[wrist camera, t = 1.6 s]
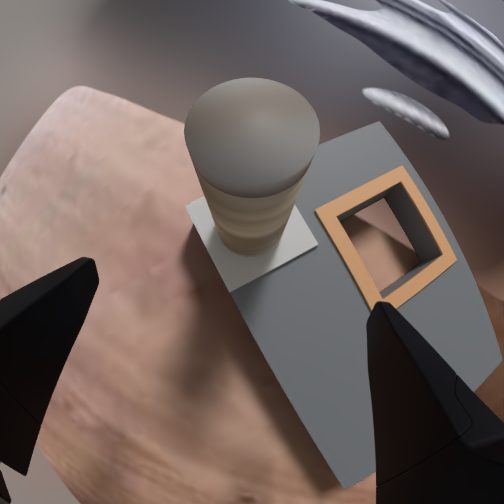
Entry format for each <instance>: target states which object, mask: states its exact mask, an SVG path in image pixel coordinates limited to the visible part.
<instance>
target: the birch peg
mask: <svg viewBox="0 0 504 504" xmlns="http://www.w3.org/2000/svg"><path fill="white" fill-rule="evenodd" d="M184 135H185V141H186V145H187V148H188V151H189V154H190V156H191V159H192V162H193V165H194V168H195V171H196V173H197V176H198V179H199V182H200V185H201V187H202V190H203V193H204V196H205V199H206V201H207V204H208V207H209V210H210V212H211V215H212V218H213V220H214V223H215V226H216V229H217V231H218V234H219V237H220V239H221V241H222V242H223V244H224V245H225V246H226V247H227V248H228V249H229V250H231V251H232V252H234V253H236V254H238V255H241V256H245V257H256V256H261V255H263V254H266V253H268V252H269V251H271V250H272V249H273V248H274V247H275V246H276V245H277V244H278V243H279V241H280V239H281V237H282V235H283V232H284V230H285V227H286V225H287V222H288V220H289V217H290V215H291V212H292V210H293V207H294V205H295V202H296V200H297V197H298V195H299V192H300V190H301V187H302V185H303V182H304V180H305V177H306V175H307V172H308V169H309V167H310V164H311V162H312V159H313V157H314V154H315V151H316V149H317V146H318V143H319V138H320V126H319V121H318V118H317V115H316V113H315V111H314V109H313V108H312V106H311V105H310V104H309V102H308V101H307V100H306V99H305V98H304V97H303V96H302V95H301V94H299V93H298V92H297V91H295V90H294V89H292V88H290V87H288V86H286V85H284V84H281V83H279V82H276V81H272V80H267V79H262V78H242V79H235V80H231V81H228V82H224V83H222V84H219V85H217V86H215V87H213V88H212V89H210V90H208V91H207V92H206V93H204V94H203V95H202V96H201V97H200V98H199V99H198V100H197V101H196V102H195V103H194V105H193V106H192V108H191V109H190V111H189V113H188V116H187V118H186V122H185V128H184Z"/></svg>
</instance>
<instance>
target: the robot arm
mask: <svg viewBox="0 0 504 504" xmlns="http://www.w3.org/2000/svg"><path fill="white" fill-rule="evenodd" d="M98 284H99V277H98V272H97V268H96V264H95V261H94V259H92V258H87V257H81V258H79V259H77V260H75V261H73V262H71V263H69V264H67V265H65V266H63V267H61V268H59V269H57V270H55V271H53V272H51V273H49V274H47V275H45V276H43V277H41V278H39V279H37V280H35V281H33V282H32V283H30V284H28V285H26V286H24V287H22V288H20V289H18V290H17V291H15V292H13V293H11V294H9V295H8V296H6V297H4V298H2V299H1V300H0V463H1V462H3V463H4V464H5V465H7V466H9V467H10V468H12V469H14V470H15V471H17V472H19V473H21V474H22V475H24V476H26V474H27V471H28V468H29V464H30V460H31V457H32V454H33V450H34V446H35V444H36V440H37V437H38V434H39V431H40V428H41V425H42V422H43V419H44V416H45V413H46V410H47V408H48V405H49V402H50V400H51V397H52V394H53V392H54V389H55V387H56V384H57V382H58V379H59V377H60V374H61V372H62V370H63V367H64V365H65V363H66V360H67V358H68V356H69V354H70V351H71V349H72V347H73V345H74V343H75V340H76V338H77V336H78V334H79V332H80V330H81V328H82V325H83V323H84V321H85V318H86V316H87V313H88V310H89V308H90V305H91V303H92V300H93V297H94V295H95V292H96V290H97V287H98ZM366 332H367V365H368V377H369V385H370V394H371V404H372V414H373V427H374V441H375V460H376V486H377V487H376V504H504V423H503V422H502V421H501V420H500V419H499V418H498V417H497V415H496V414H495V413H494V412H493V411H492V410H491V409H490V408H489V407H488V406H487V405H486V404H485V403H484V402H483V401H482V400H481V399H480V398H479V397H478V396H477V395H476V394H475V393H474V392H473V391H472V390H471V389H470V388H469V387H468V385H467V384H466V383H465V382H464V381H463V380H462V379H461V378H460V376H459V375H456V372H455V371H454V370H453V369H452V368H451V366H450V365H449V364H448V363H447V362H446V361H445V360H444V359H443V358H442V357H441V355H440V354H439V353H438V352H437V351H436V350H435V349H434V348H433V347H432V346H431V345H430V344H429V343H428V341H427V340H426V339H425V338H424V337H423V336H422V335H421V334H420V333H419V332H418V331H417V330H416V329H415V328H414V327H413V326H412V325H411V324H410V323H409V322H408V321H407V320H406V319H405V317H404V316H403V315H402V314H401V313H400V312H399V311H398V310H397V309H396V308H395V307H394V306H393V305H392V304H391V303H389V302H384V301H378V302H376V303H375V305H374V307H373V309H372V311H371V313H370V315H369V317H368V320H367V324H366ZM10 503H11V498H10V495H9V493H8V490H7V487H6V484H5V481H4V478H3V475H2V472H1V470H0V504H10Z"/></svg>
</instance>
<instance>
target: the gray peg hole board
mask: <svg viewBox="0 0 504 504" xmlns="http://www.w3.org/2000/svg"><path fill="white" fill-rule="evenodd" d="M382 198H384V199H385V200H386V202H387V203H388V205H389V207H390V208H391V210H392V212H393V213H394V215H395V217H396V218H397V220H398V221H399V223H400V225H401V227H402V228H403V230H404V232H405V234H406V235H407V237H408V239H409V241H410V242H411V244H412V246H413V248H414V250H415V252H416V254H417V256H418V258H419V259H420V261H421V263H420V264H418V265H417V266H416V267H414V268H413V269H412V270H410V271H409V272H407V273H406V274H405V275H403V276H402V277H401V278H399V279H398V280H396V281H395V282H393V283H392V284H391V285H389V286H388V287H386V288H385V289H383V290H382V291H380V292H379V291H378V289H377V287H376V285H375V283H374V282H373V280H372V278H371V276H370V274H369V272H368V270H367V269H366V267H365V265H364V263H363V261H362V260H361V258H360V256H359V254H358V253H357V251H356V249H355V247H354V246H353V244H352V242H351V240H350V239H349V237H348V235H347V234H346V232H345V230H344V229H343V227H342V225H341V224H340V221H342V220H344V219H346V218H348V217H350V216H351V215H353V214H355V213H357V212H359V211H360V210H362V209H364V208H366V207H368V206H370V205H371V204H373V203H375V202H377V201H379V200H380V199H382ZM185 207H186V209H187V211H188V213H189V215H190V217H191V219H192V221H193V223H194V225H195V227H196V229H197V231H198V233H199V235H200V237H201V239H202V241H203V243H204V245H205V247H206V249H207V251H208V253H209V254H210V256H211V258H212V260H213V262H214V264H215V266H216V268H217V270H218V272H219V274H220V276H221V278H222V280H223V281H224V283H225V285H226V287H227V289H228V291H229V293H230V294H231V296H232V298H233V300H234V302H235V304H236V306H237V308H238V309H239V311H240V313H241V315H242V317H243V319H244V321H245V322H246V324H247V326H248V328H249V330H250V332H251V333H252V335H253V337H254V339H255V341H256V342H257V344H258V346H259V348H260V350H261V351H262V353H263V355H264V357H265V359H266V360H267V362H268V364H269V366H270V367H271V369H272V371H273V373H274V374H275V376H276V378H277V380H278V381H279V383H280V385H281V387H282V388H283V390H284V392H285V394H286V395H287V397H288V399H289V400H290V402H291V404H292V405H293V407H294V409H295V411H296V412H297V414H298V416H299V417H300V419H301V421H302V422H303V424H304V426H305V427H306V429H307V431H308V432H309V434H310V436H311V437H312V439H313V441H314V442H315V444H316V445H317V447H318V449H319V450H320V452H321V454H322V455H323V457H324V458H325V460H326V462H327V463H328V465H329V466H330V468H331V470H332V471H333V473H334V474H335V476H336V477H337V479H338V481H339V482H340V484H341V485H342V487H343V488H344V490H345V489H347V488H348V487H350V486H352V485H354V484H355V483H357V482H359V481H361V480H362V479H364V478H366V477H367V476H369V475H371V474H372V473H374V472H375V471H376V460H375V441H374V427H373V414H372V404H371V394H370V385H369V377H368V365H367V332H366V324H367V320H368V317H369V315H370V313H371V311H372V309H373V307H374V305H375V303H376V302H378V301H384V302H389V303H391V304H392V305H393V306H394V307H395V308H396V309H397V310H398V311H399V312H400V313H401V314H402V315H403V316H404V317H405V319H406V320H407V321H408V322H409V323H410V324H411V325H412V326H413V327H414V328H415V329H416V330H417V331H418V332H419V333H420V334H421V335H422V336H423V337H424V338H425V339H426V340H427V341H428V343H429V344H430V345H431V346H432V347H433V348H434V349H435V350H436V351H437V352H438V353H439V354H440V355H441V357H442V358H443V359H444V360H445V361H446V362H447V363H448V364H449V365H450V366H451V368H452V369H453V370H454V371H455V372H456V375H459V376H460V378H461V379H462V380H463V381H464V382H465V383H466V384H467V385H468V387H469V388H470V389H471V390H472V391H473V392H474V391H475V390H476V389H477V388H478V387H479V386H480V385H481V384H482V383H483V382H484V381H485V379H486V378H487V377H488V376H489V375H490V374H491V373H492V372H493V371H494V369H495V368H496V367H497V366H498V365H499V364H500V362H501V361H502V356H501V352H500V349H499V346H498V342H497V339H496V336H495V333H494V330H493V327H492V324H491V321H490V318H489V315H488V312H487V310H486V307H485V304H484V302H483V299H482V297H481V294H480V292H479V289H478V287H477V284H476V282H475V280H474V277H473V275H472V273H471V270H470V268H469V266H468V264H467V262H466V259H465V257H464V255H463V253H462V251H461V249H460V247H459V245H458V243H457V241H456V239H455V238H454V235H453V233H452V231H451V229H450V228H449V226H448V224H447V222H446V220H445V219H444V217H443V215H442V213H441V212H440V210H439V208H438V206H437V204H436V203H435V201H434V199H433V198H432V196H431V194H430V193H429V191H428V190H427V188H426V186H425V185H424V183H423V182H422V180H421V179H420V177H419V176H418V174H417V172H416V171H415V170H414V168H413V166H412V165H411V163H410V162H409V161H408V159H407V158H406V156H405V155H404V153H403V152H402V151H401V149H400V148H399V146H398V145H397V144H396V142H395V141H394V140H393V138H392V137H391V136H390V134H389V133H388V132H387V130H386V129H385V128H384V126H383V125H382V124H381V123H380V122H376V123H374V124H371V125H368V126H365V127H363V128H360V129H358V130H355V131H352V132H350V133H347V134H345V135H343V136H340V137H337V138H335V139H332V140H330V141H328V142H325V143H323V144H320V145H318V146H317V149H316V151H315V154H314V157H313V159H312V162H311V164H310V167H309V169H308V172H307V175H306V177H305V180H304V182H303V185H302V187H301V190H300V192H299V195H298V197H297V200H296V202H295V205H294V207H293V210H292V212H291V215H290V217H289V220H288V222H287V225H286V227H285V230H284V232H283V235H282V237H281V239H280V241H279V243H278V244H277V245H276V246H275V247H274V248H273V249H272V250H271V251H269V252H268V253H266V254H263V255H261V256H256V257H245V256H241V255H238V254H236V253H234V252H232V251H231V250H229V249H228V248H227V247H226V246H225V245H224V244H223V242H222V241H221V239H220V237H219V234H218V231H217V229H216V226H215V223H214V220H213V218H212V215H211V212H210V210H209V207H208V204H207V201H206V199H205V196H203V197H201V198H199V199H197V200H195V201H193V202H191V203H189V204H187V205H186V206H185Z"/></svg>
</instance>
